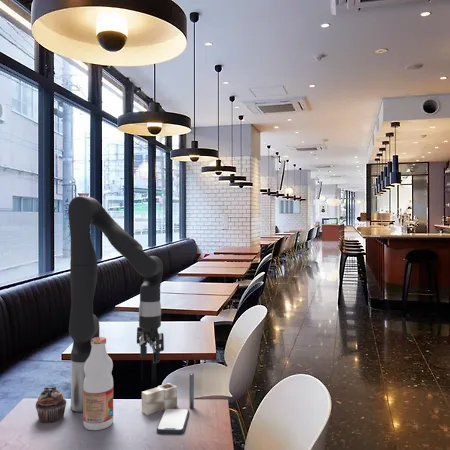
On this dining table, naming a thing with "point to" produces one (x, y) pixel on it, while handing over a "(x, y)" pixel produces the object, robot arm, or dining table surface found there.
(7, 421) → the dining table surface
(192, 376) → the post
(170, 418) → the smartphone
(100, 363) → the fruit juice
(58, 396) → the cupcake
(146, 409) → the open-ended tube with peg
